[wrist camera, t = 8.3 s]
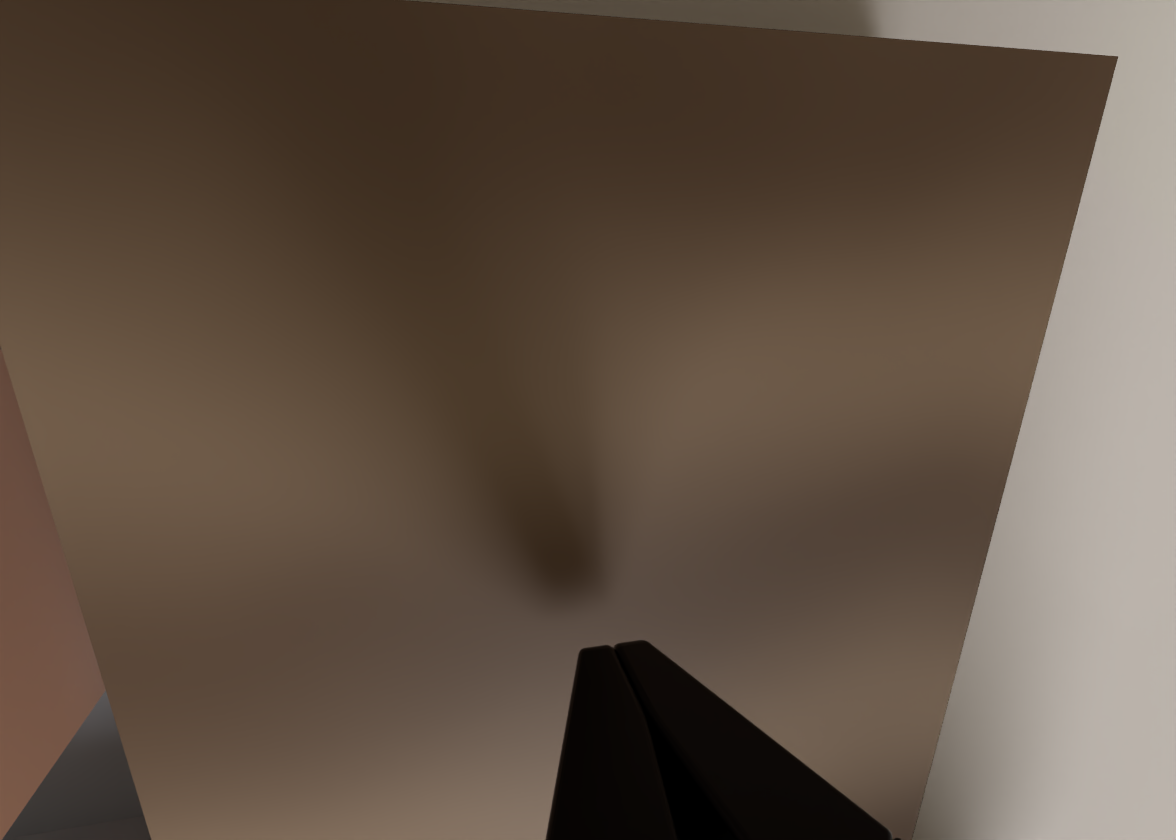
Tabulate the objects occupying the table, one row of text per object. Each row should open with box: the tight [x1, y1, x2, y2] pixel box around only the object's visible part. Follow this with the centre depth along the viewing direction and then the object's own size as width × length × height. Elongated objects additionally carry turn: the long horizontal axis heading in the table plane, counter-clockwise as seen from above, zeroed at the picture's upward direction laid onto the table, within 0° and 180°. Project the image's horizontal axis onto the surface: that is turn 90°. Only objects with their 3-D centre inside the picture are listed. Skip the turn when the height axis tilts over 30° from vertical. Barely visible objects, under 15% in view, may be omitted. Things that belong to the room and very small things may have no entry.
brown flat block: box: [0, 0, 1118, 840], centre depth 10 cm, size 14×12×4 cm
